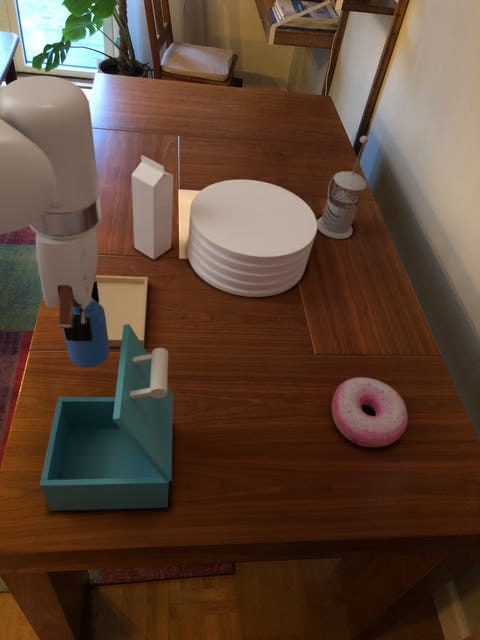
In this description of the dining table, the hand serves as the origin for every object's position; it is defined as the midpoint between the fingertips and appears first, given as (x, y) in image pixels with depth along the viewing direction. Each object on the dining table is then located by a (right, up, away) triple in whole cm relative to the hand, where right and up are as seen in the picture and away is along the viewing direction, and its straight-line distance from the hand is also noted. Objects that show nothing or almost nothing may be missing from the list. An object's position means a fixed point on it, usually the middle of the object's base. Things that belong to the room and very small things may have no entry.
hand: (83, 319), depth 63 cm
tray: (-5, +1, +31) cm, 32 cm away
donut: (+43, -18, +23) cm, 52 cm away
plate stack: (+22, +15, +49) cm, 56 cm away
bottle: (-1, -5, +5) cm, 7 cm away
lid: (+8, -11, -1) cm, 14 cm away
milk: (+1, +16, +46) cm, 49 cm away
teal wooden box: (+1, -23, +11) cm, 25 cm away
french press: (+45, +25, +62) cm, 81 cm away
